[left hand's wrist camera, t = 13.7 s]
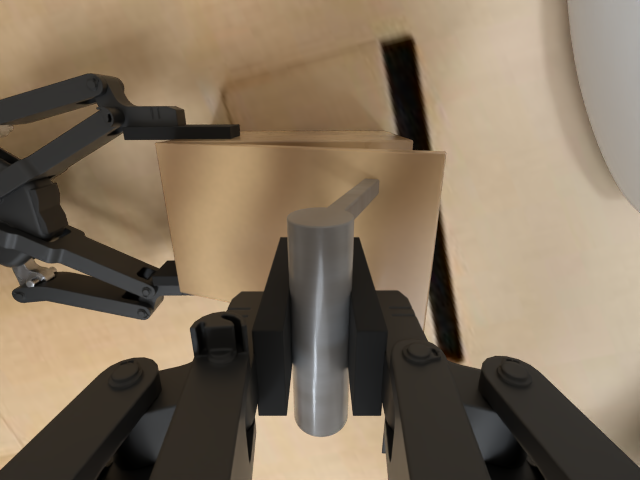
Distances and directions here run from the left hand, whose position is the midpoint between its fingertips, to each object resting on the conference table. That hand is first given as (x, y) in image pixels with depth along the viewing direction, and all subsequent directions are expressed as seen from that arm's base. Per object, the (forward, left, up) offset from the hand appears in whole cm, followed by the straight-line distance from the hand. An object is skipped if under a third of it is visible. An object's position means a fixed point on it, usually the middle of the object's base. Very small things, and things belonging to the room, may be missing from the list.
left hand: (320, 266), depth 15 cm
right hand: (+5, +2, -10) cm, 11 cm away
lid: (+2, +1, -4) cm, 5 cm away
